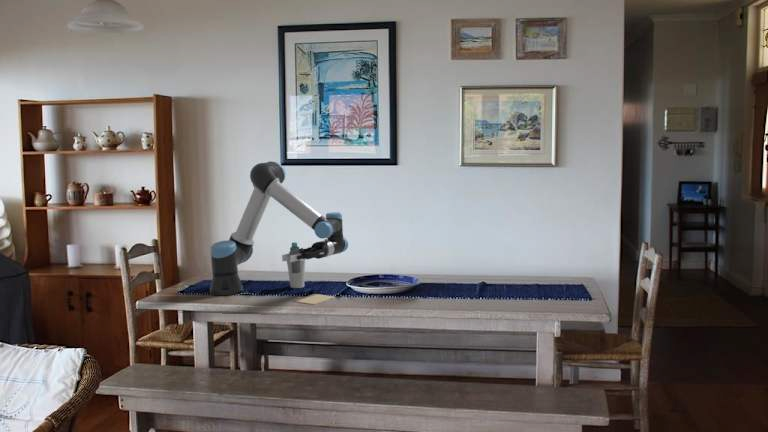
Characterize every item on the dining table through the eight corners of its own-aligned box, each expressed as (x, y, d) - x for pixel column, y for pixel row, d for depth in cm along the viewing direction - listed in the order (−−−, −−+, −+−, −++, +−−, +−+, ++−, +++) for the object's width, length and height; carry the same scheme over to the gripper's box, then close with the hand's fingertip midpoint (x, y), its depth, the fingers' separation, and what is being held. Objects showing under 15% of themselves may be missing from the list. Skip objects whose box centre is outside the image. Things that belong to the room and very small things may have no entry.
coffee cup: (303, 289, 317) (302, 257, 316) (284, 288, 319) (282, 257, 317) (310, 284, 327) (308, 253, 325) (291, 284, 329) (289, 253, 327)
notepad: (293, 301, 295) (293, 300, 295) (314, 294, 306) (314, 293, 306) (314, 304, 288) (314, 304, 288) (335, 297, 299) (335, 296, 299)
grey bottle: (289, 272, 295) (287, 243, 293) (295, 270, 298) (294, 241, 297) (296, 273, 293) (294, 243, 291) (302, 271, 296) (300, 242, 294)
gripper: (307, 240, 314) (271, 248, 295) (336, 242, 304) (300, 251, 285) (308, 256, 315) (273, 265, 296) (336, 258, 305) (301, 268, 286)
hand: (286, 258), depth 290 cm, fingers closed on grey bottle, 4 cm apart
